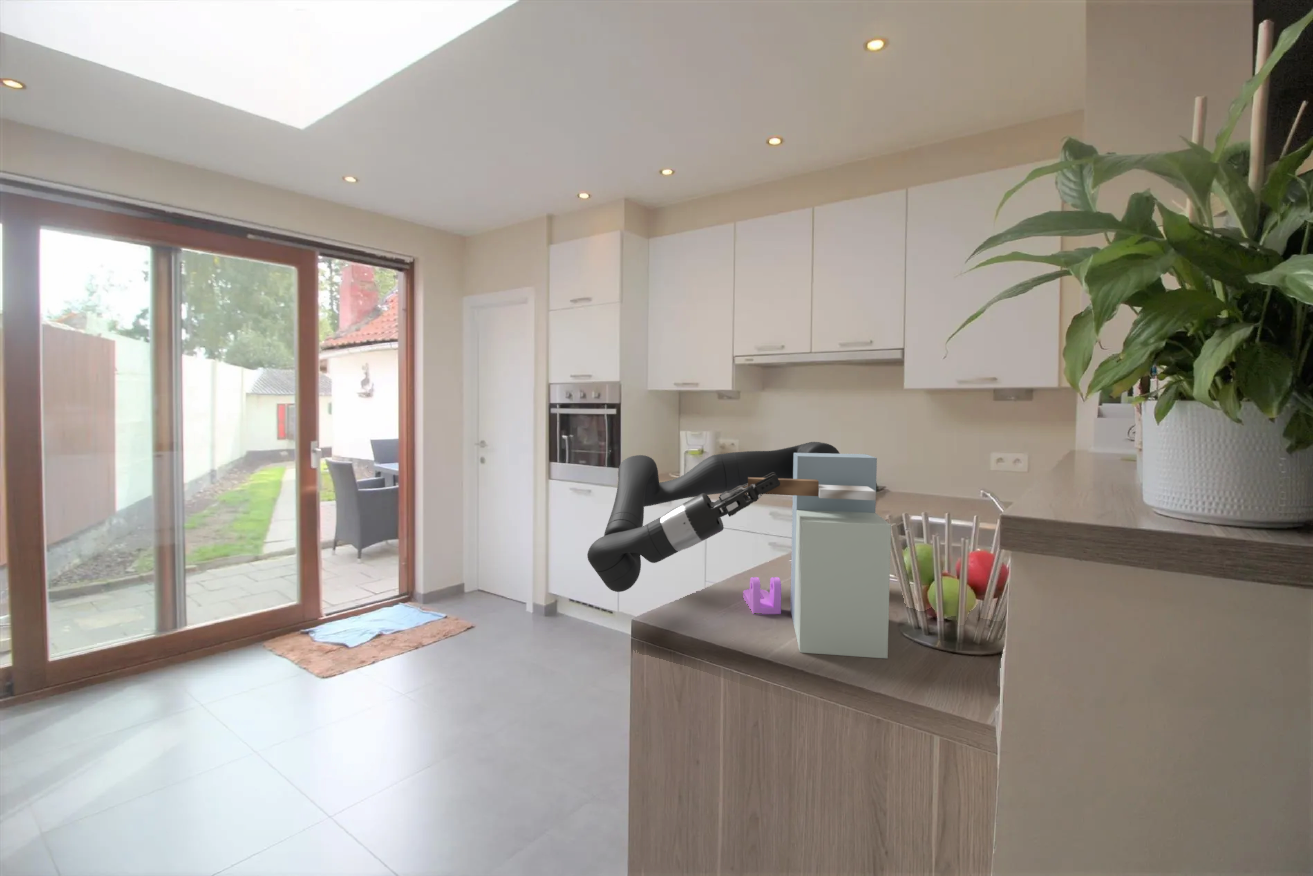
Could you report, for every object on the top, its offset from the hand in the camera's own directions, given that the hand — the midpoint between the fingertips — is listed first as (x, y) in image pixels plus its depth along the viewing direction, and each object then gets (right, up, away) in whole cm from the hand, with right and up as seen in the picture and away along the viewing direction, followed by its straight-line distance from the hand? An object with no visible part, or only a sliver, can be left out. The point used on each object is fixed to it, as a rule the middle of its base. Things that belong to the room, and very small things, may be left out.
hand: (777, 478), depth 105 cm
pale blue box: (+11, -28, +4) cm, 31 cm away
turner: (+5, -3, -1) cm, 6 cm away
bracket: (0, -28, +20) cm, 35 cm away
